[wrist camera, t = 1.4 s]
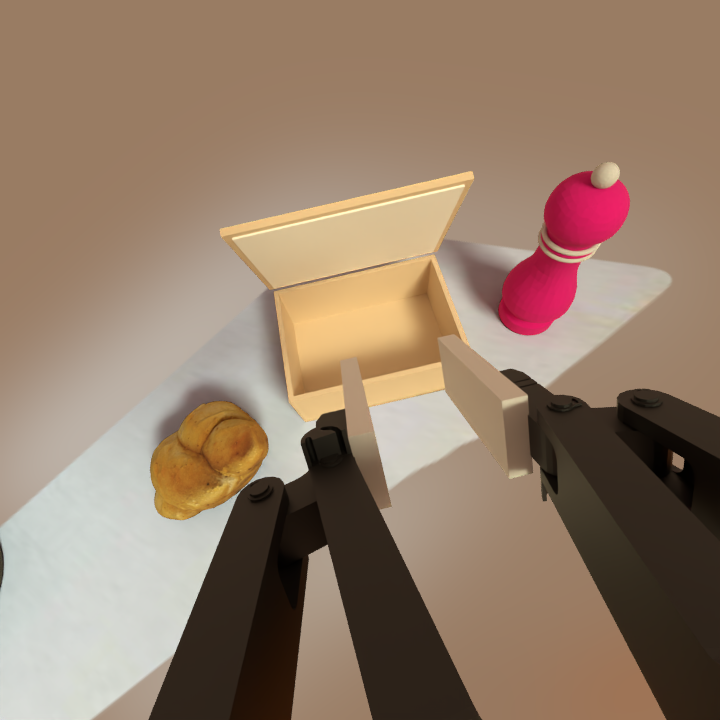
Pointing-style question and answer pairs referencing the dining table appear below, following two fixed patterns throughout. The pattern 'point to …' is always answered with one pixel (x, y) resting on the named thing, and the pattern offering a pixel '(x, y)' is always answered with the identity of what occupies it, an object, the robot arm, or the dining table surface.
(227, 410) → the bread roll
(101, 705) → the dining table surface
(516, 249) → the dining table surface
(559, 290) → the pepper mill
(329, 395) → the mailer box
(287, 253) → the lid
